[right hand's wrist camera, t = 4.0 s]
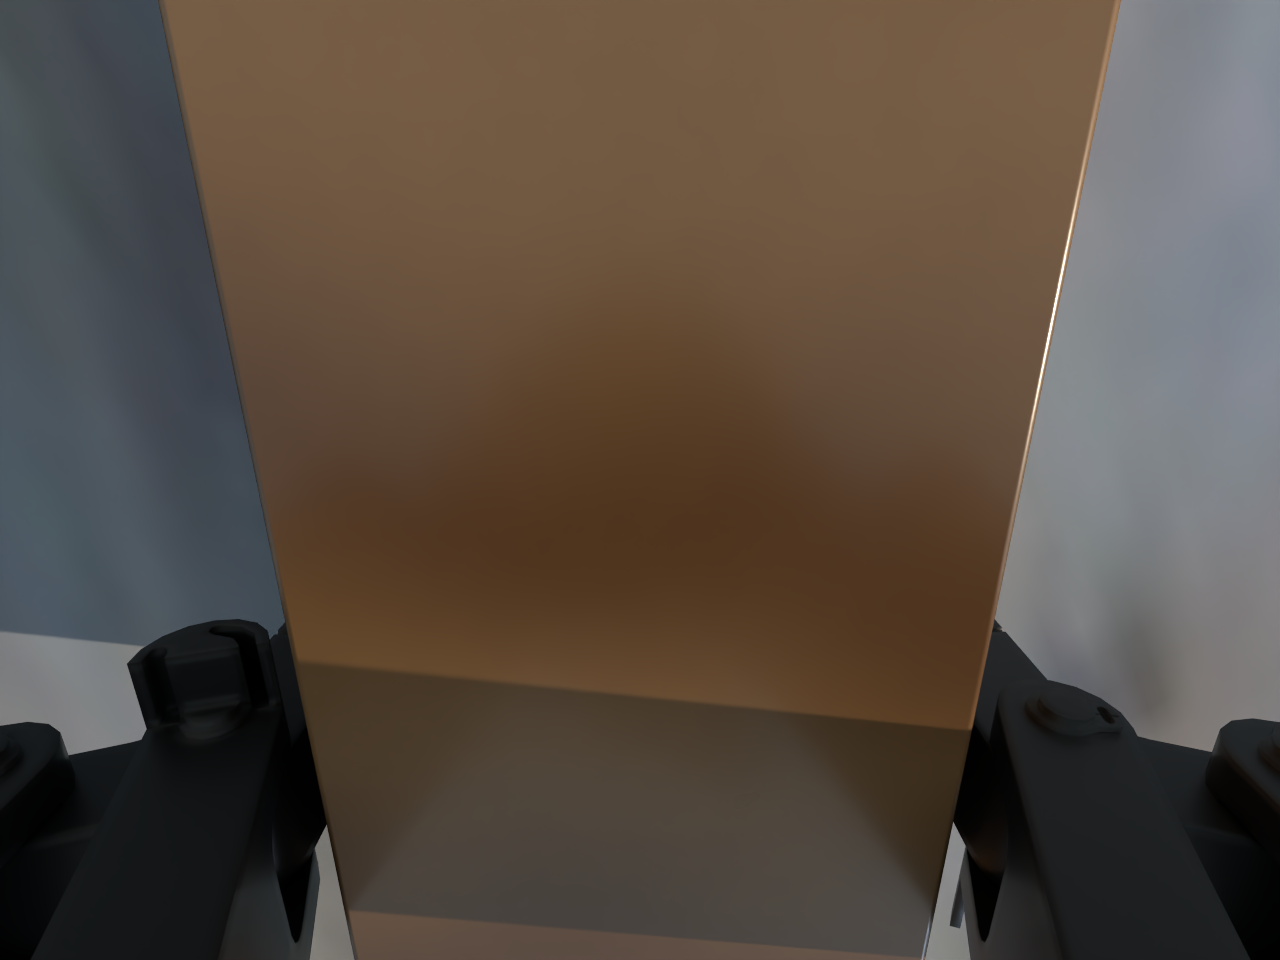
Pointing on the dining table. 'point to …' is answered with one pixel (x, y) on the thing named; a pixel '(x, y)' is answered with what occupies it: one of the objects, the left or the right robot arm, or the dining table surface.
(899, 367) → the post
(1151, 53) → the dining table surface
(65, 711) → the dining table surface
